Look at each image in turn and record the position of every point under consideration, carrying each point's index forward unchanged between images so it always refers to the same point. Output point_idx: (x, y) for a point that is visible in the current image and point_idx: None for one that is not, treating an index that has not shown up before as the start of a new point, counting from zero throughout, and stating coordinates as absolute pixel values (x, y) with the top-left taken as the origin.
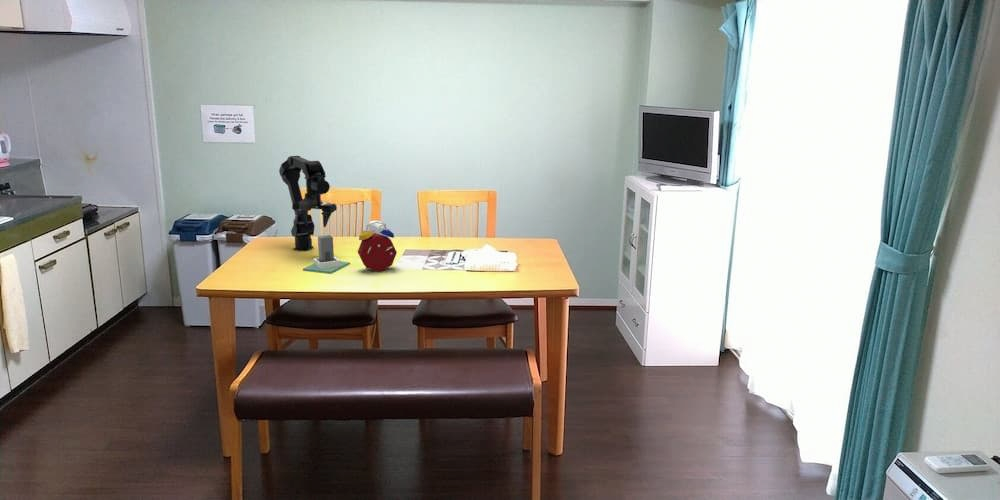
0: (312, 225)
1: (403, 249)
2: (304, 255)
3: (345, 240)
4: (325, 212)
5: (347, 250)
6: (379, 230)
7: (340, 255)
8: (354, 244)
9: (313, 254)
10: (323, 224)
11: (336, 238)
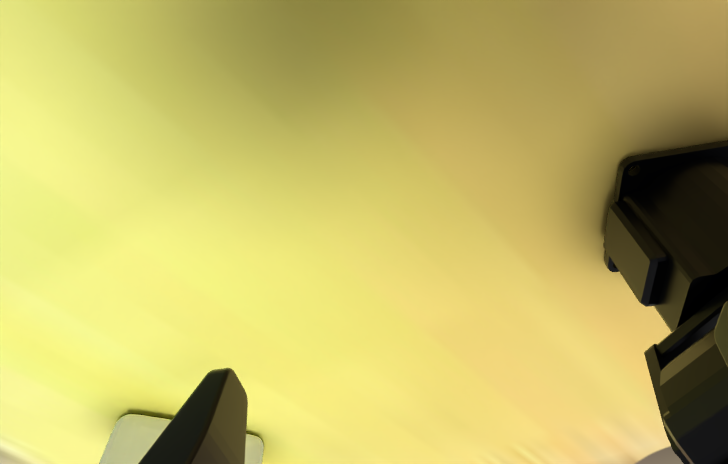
0: (690, 439)
1: (34, 458)
2: (537, 14)
3: (488, 449)
4: None
5: (294, 322)
6: None
7: (212, 200)
8: (372, 421)
9: (467, 100)
10: (201, 420)
11: (569, 453)
